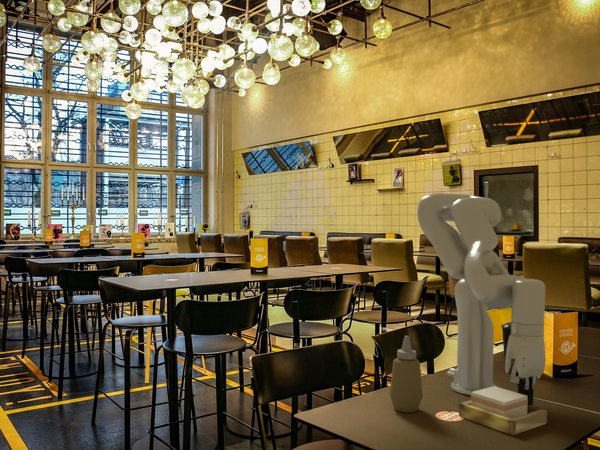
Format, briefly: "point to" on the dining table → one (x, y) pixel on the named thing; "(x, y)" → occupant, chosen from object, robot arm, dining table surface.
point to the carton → (500, 401)
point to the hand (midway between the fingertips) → (525, 403)
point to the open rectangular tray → (503, 419)
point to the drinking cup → (506, 336)
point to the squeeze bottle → (406, 379)
